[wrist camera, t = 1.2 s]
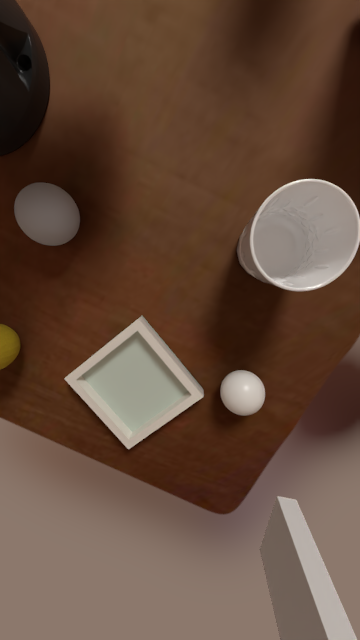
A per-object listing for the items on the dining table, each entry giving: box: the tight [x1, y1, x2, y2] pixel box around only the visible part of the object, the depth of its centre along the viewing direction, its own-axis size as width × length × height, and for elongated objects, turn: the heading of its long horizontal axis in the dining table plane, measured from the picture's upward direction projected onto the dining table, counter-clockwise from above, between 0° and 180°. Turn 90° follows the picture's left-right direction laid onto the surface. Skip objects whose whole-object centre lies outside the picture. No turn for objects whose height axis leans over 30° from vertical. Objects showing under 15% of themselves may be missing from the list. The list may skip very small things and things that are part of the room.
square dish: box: [64, 316, 204, 449], centre depth 31 cm, size 12×12×2 cm
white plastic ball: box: [220, 370, 265, 416], centre depth 29 cm, size 5×5×5 cm
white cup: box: [237, 179, 360, 291], centre depth 23 cm, size 8×8×10 cm
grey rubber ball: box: [14, 182, 80, 246], centre depth 26 cm, size 6×6×6 cm
